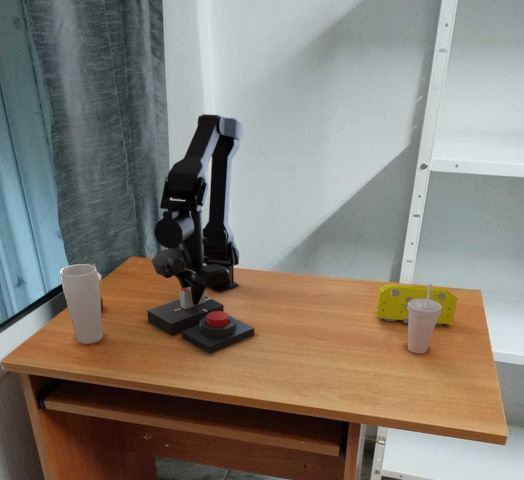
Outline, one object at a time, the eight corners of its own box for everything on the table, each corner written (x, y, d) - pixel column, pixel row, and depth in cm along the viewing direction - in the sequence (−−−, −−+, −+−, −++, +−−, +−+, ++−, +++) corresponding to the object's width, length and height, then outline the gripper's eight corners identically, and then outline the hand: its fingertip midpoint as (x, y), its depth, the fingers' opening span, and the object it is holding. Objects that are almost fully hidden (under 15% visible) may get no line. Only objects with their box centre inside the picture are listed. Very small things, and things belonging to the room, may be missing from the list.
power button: (219, 316, 112) (219, 309, 111) (233, 323, 110) (233, 315, 109) (202, 322, 110) (202, 315, 109) (216, 330, 107) (216, 322, 106)
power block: (226, 321, 118) (226, 306, 116) (254, 335, 112) (254, 320, 110) (182, 338, 110) (180, 323, 109) (209, 354, 105) (208, 338, 103)
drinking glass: (113, 335, 111) (104, 266, 104) (91, 349, 106) (80, 278, 98) (88, 329, 114) (77, 261, 106) (65, 342, 108) (52, 272, 101)
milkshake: (110, 305, 124) (104, 264, 119) (102, 315, 120) (95, 272, 115) (91, 304, 125) (84, 263, 120) (82, 314, 120) (75, 272, 115)
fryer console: (198, 304, 125) (197, 291, 124) (225, 317, 119) (224, 304, 118) (147, 322, 117) (145, 308, 115) (173, 337, 111) (172, 323, 109)
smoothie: (415, 359, 104) (427, 292, 97) (394, 345, 109) (403, 280, 102) (440, 352, 106) (453, 286, 99) (418, 338, 111) (429, 275, 104)
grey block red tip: (200, 299, 120) (199, 282, 118) (205, 302, 119) (204, 284, 117) (180, 306, 117) (179, 288, 115) (185, 309, 116) (184, 291, 113)
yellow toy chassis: (376, 322, 118) (380, 286, 114) (376, 311, 123) (380, 277, 119) (451, 328, 115) (459, 293, 111) (448, 317, 120) (455, 282, 116)
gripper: (130, 231, 111) (137, 300, 118) (185, 253, 99) (189, 328, 107) (174, 221, 118) (178, 287, 125) (230, 240, 106) (231, 312, 114)
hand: (192, 303), depth 118 cm, fingers closed, pressing on grey block red tip
